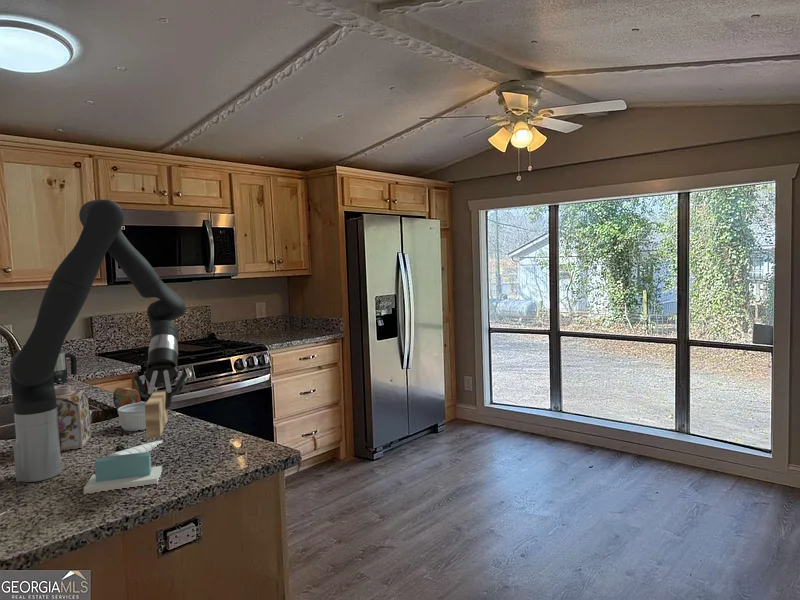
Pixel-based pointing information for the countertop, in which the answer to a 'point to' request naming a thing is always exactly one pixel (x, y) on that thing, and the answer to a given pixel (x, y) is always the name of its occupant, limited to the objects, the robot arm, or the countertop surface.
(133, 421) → the ramekin
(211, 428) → the countertop surface
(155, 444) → the unicorn horn
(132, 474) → the ridge stand
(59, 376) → the milk frother
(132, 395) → the tin
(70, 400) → the decorative jar
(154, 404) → the wooden beam
